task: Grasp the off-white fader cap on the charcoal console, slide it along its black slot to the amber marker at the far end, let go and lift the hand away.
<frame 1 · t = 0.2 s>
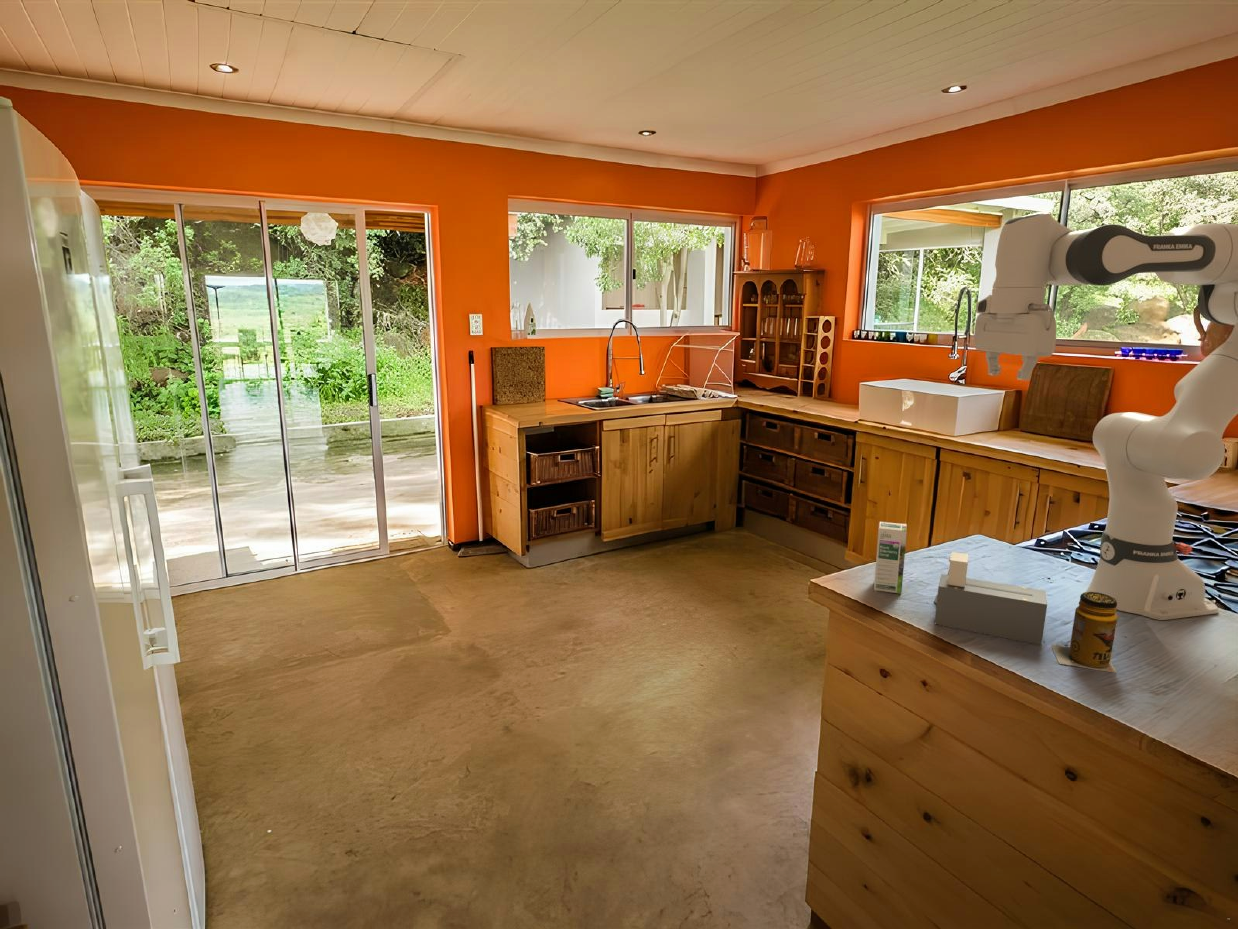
hand: (1008, 377, 133), 47 cm above the countertop, tool pointing down, fingers open, 8 cm apart
condiment: (1082, 660, 122), on the countertop
syrup box: (887, 588, 153), on the countertop
flask: (952, 605, 144), on the countertop
console: (986, 626, 134), on the countertop
fader: (958, 569, 134), point 11 cm above the countertop, slide at 0.0 cm
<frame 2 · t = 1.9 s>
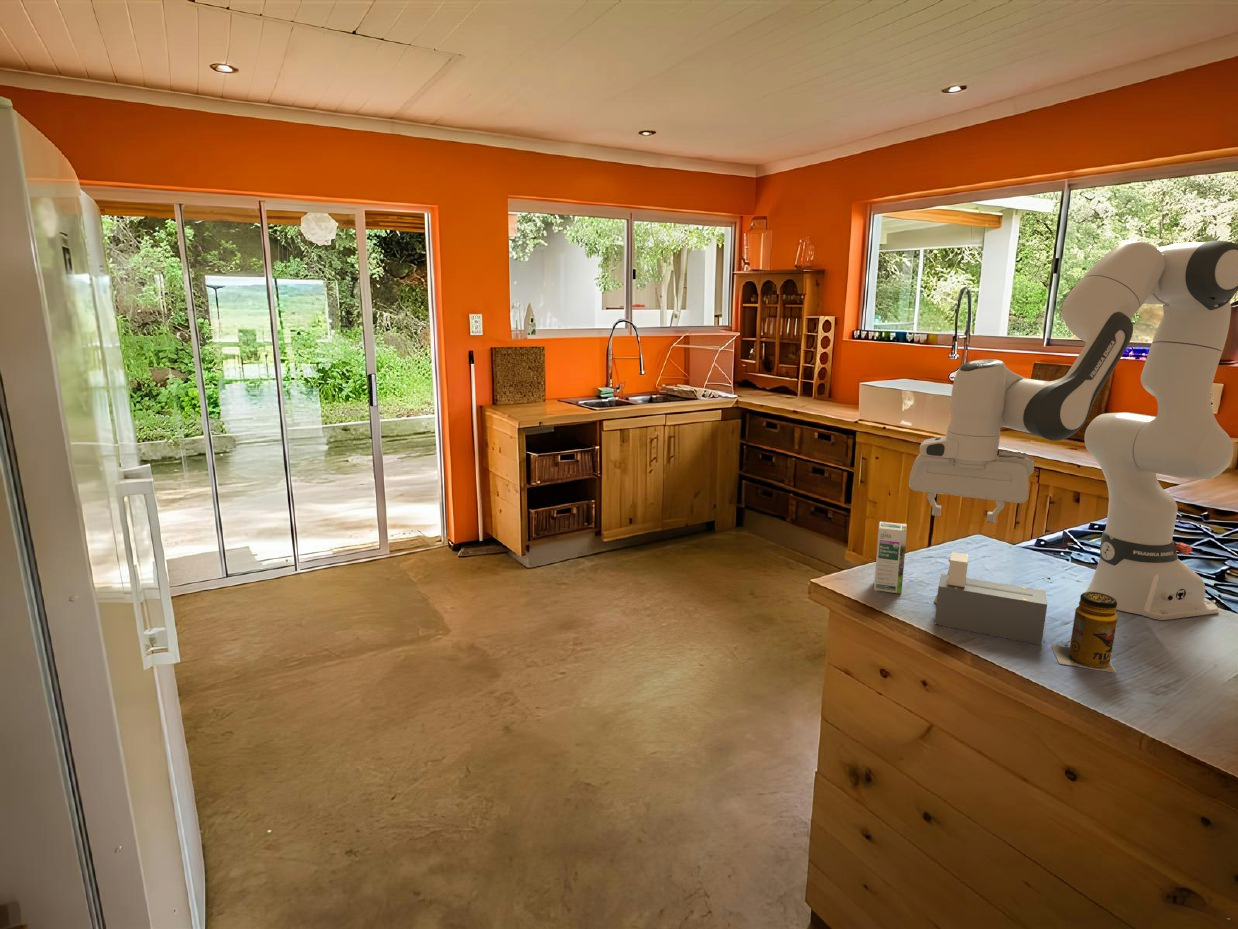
hand: (962, 518, 132), 21 cm above the countertop, tool pointing down, fingers open, 8 cm apart
nothing on the countertop moved.
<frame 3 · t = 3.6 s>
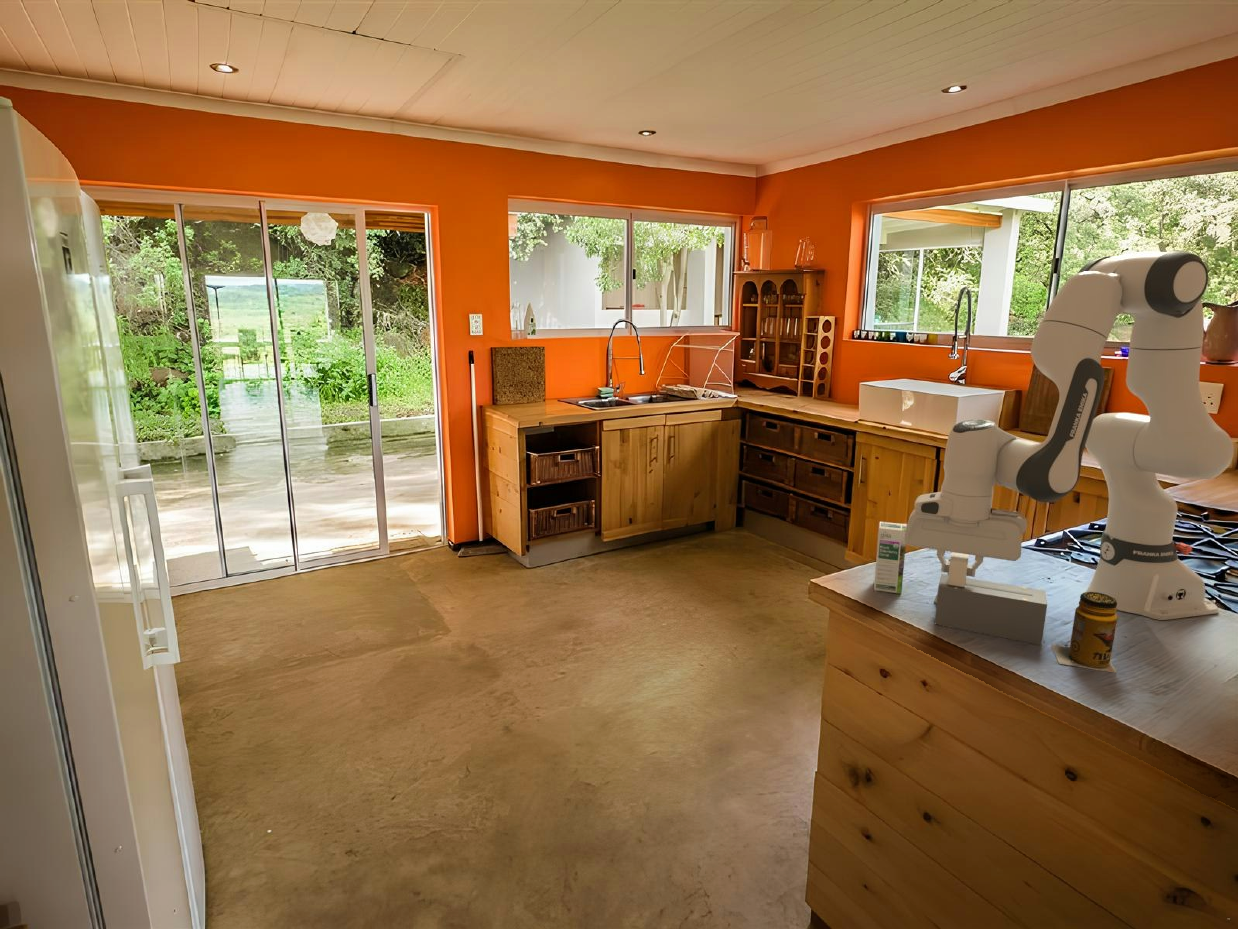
hand: (957, 573, 134), 10 cm above the countertop, tool pointing down, fingers closed on fader, 3 cm apart
fader: (958, 569, 134), point 11 cm above the countertop, slide at 0.0 cm, touching gripper
everything else where it was.
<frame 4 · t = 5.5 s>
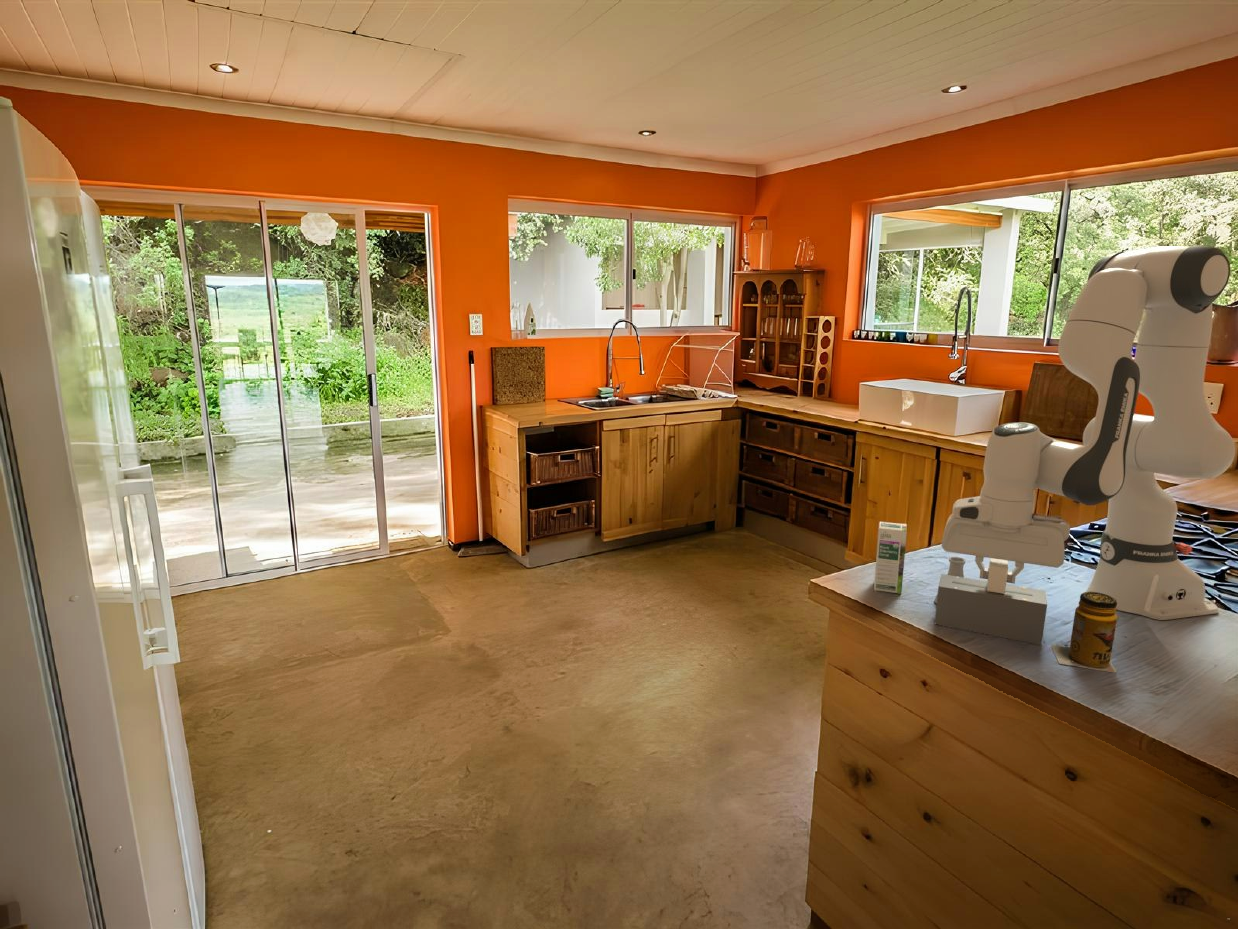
hand: (996, 580, 131), 10 cm above the countertop, tool pointing down, fingers closed on fader, 3 cm apart
fader: (997, 575, 131), point 11 cm above the countertop, slide at 6.7 cm, touching gripper
everything else where it was.
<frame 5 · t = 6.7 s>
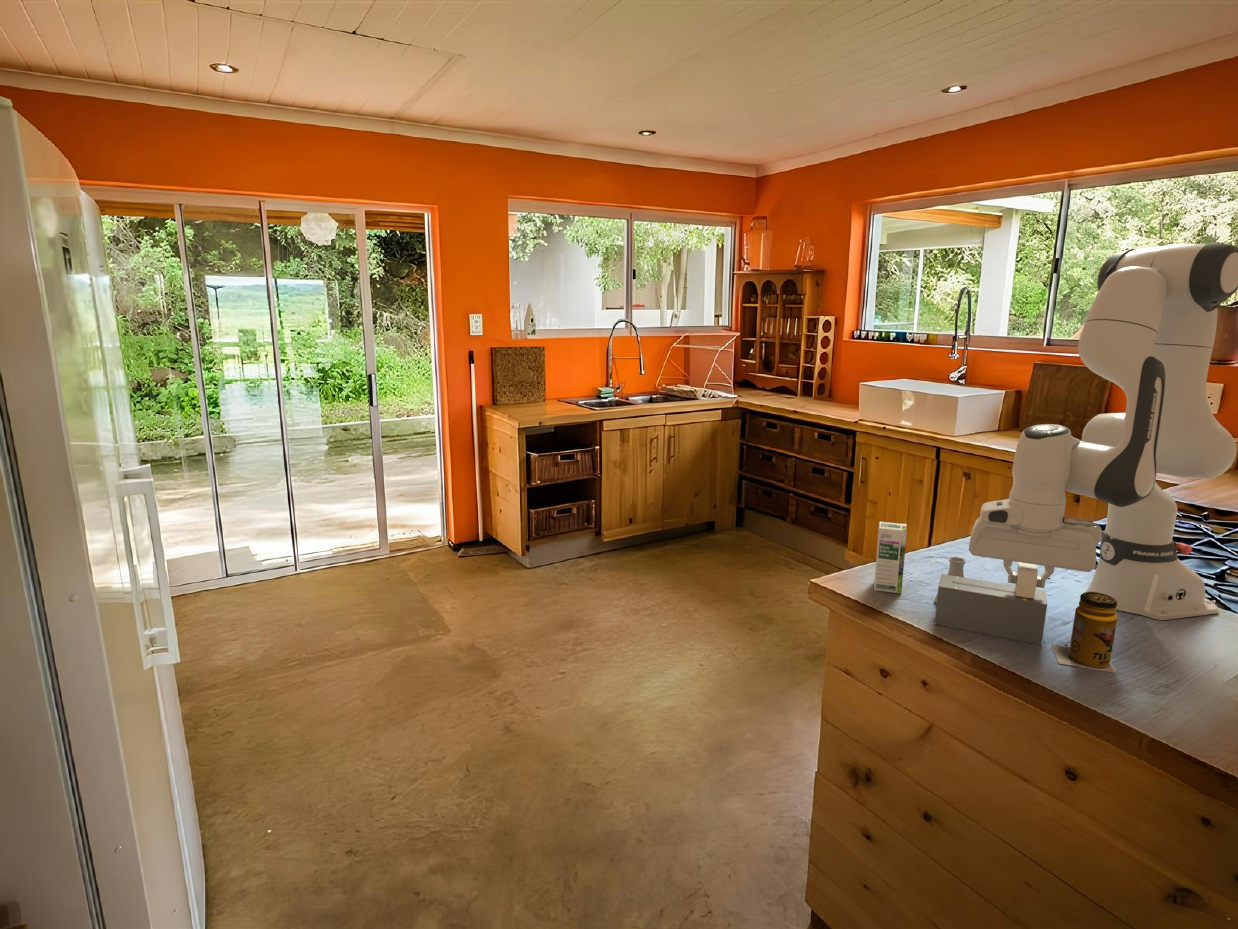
hand: (1025, 584, 129), 10 cm above the countertop, tool pointing down, fingers closed on fader, 3 cm apart
fader: (1026, 579, 129), point 11 cm above the countertop, slide at 11.5 cm, touching gripper
everything else where it was.
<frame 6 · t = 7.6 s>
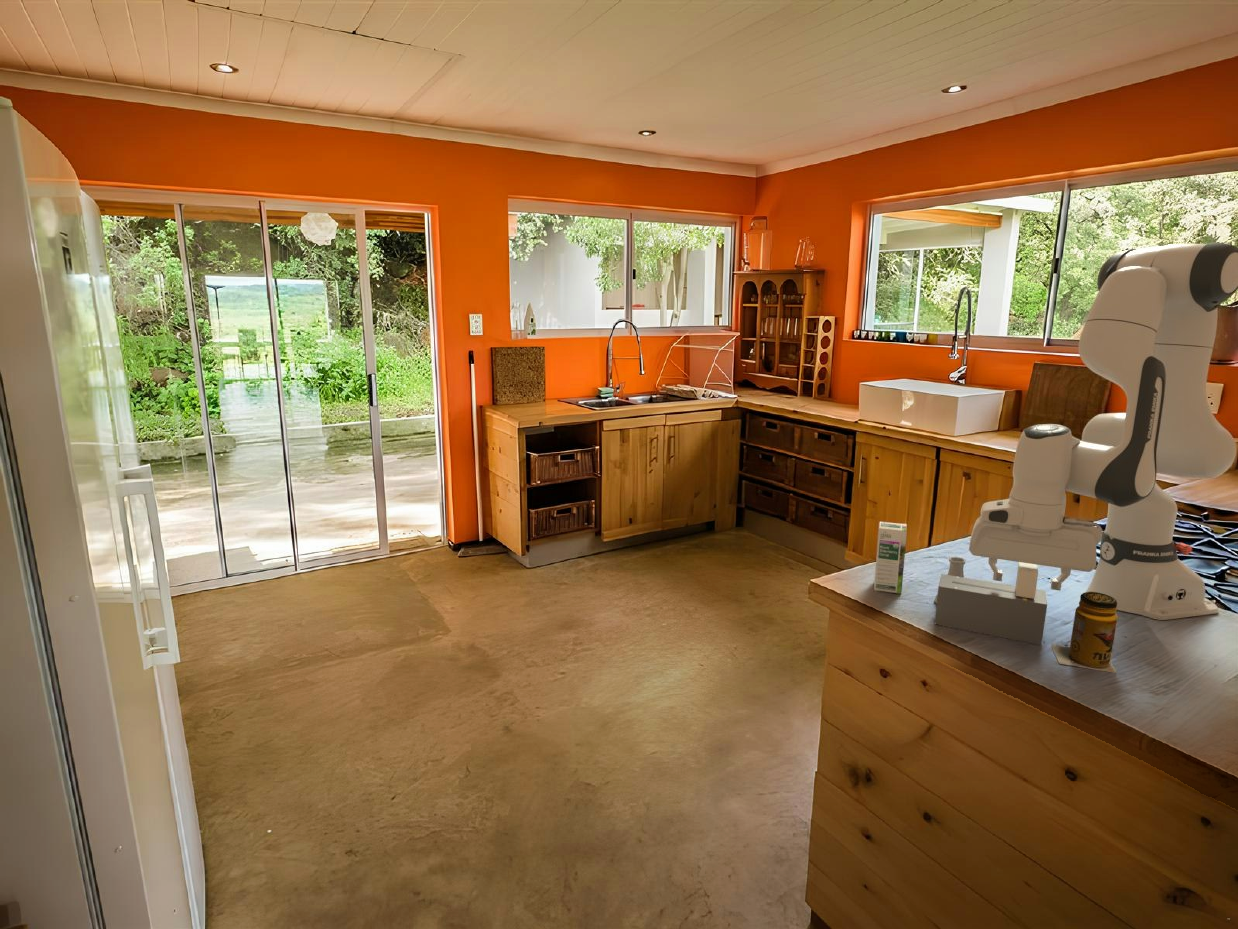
hand: (1025, 584, 129), 10 cm above the countertop, tool pointing down, fingers open, 8 cm apart
fader: (1026, 579, 129), point 11 cm above the countertop, slide at 11.5 cm
everything else where it was.
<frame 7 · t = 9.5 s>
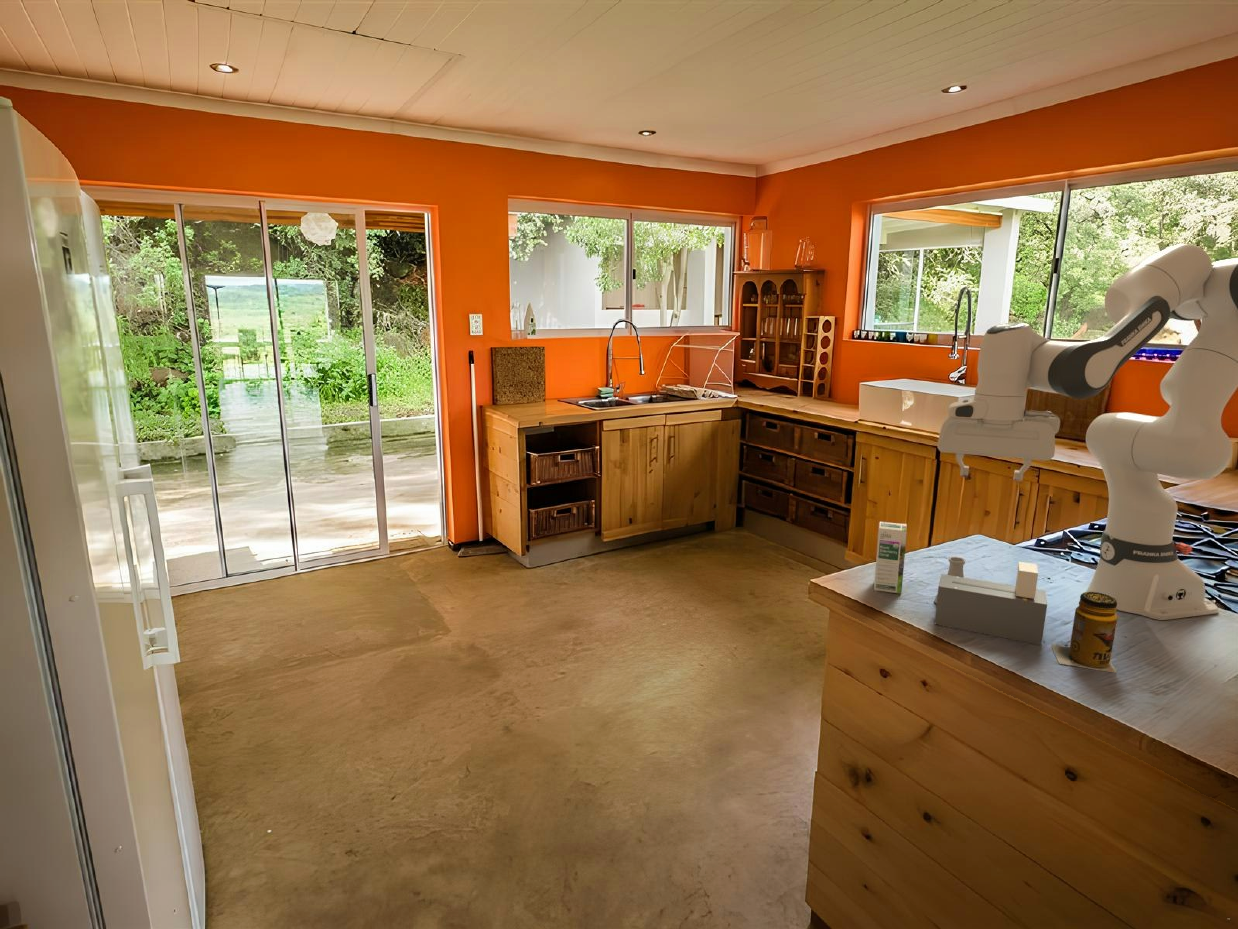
hand: (990, 477, 137), 27 cm above the countertop, tool pointing down, fingers open, 8 cm apart
nothing on the countertop moved.
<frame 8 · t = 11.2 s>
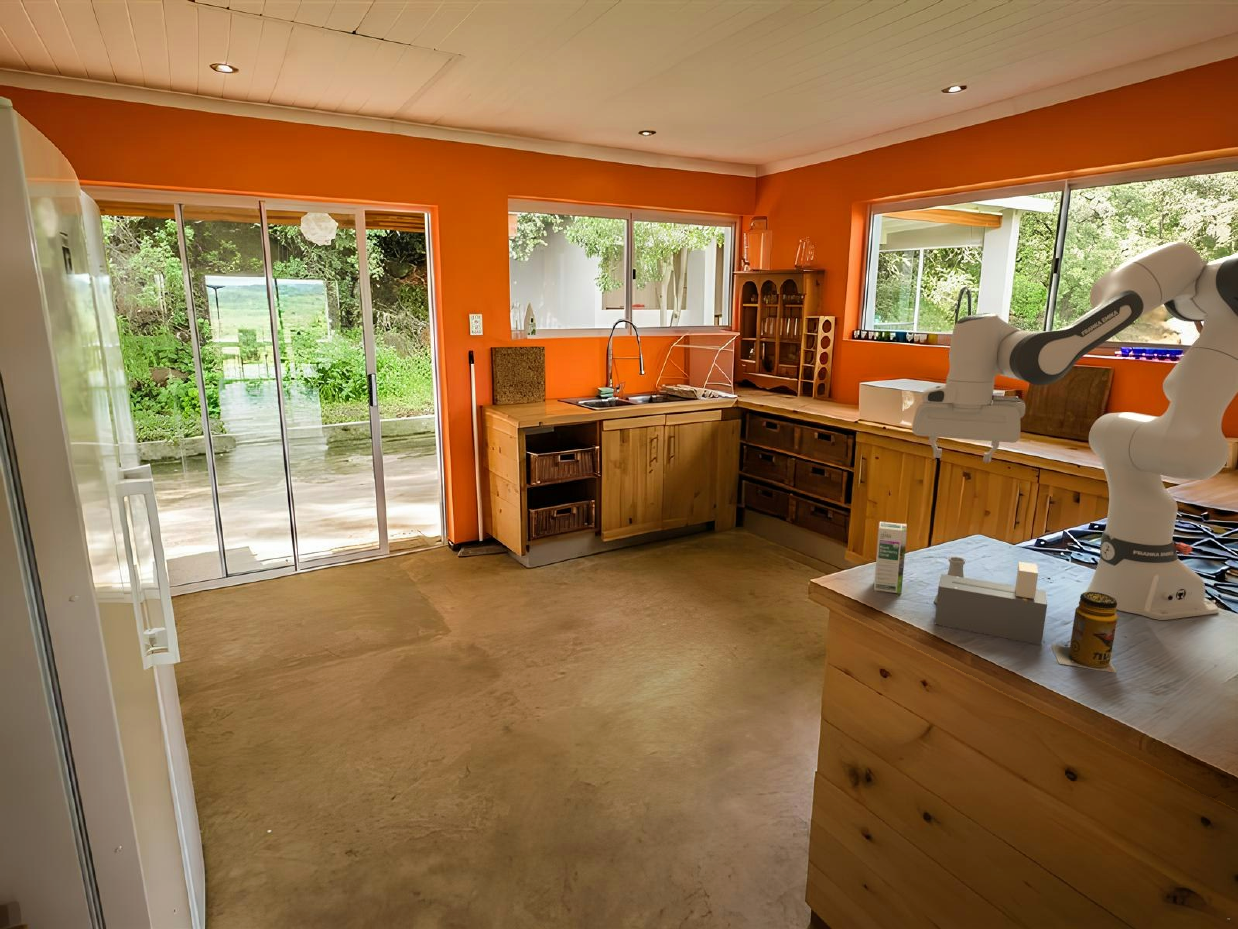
hand: (961, 459, 145), 29 cm above the countertop, tool pointing down, fingers open, 8 cm apart
nothing on the countertop moved.
at the end: fader slide at 11.5 cm; the gripper is holding nothing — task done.
